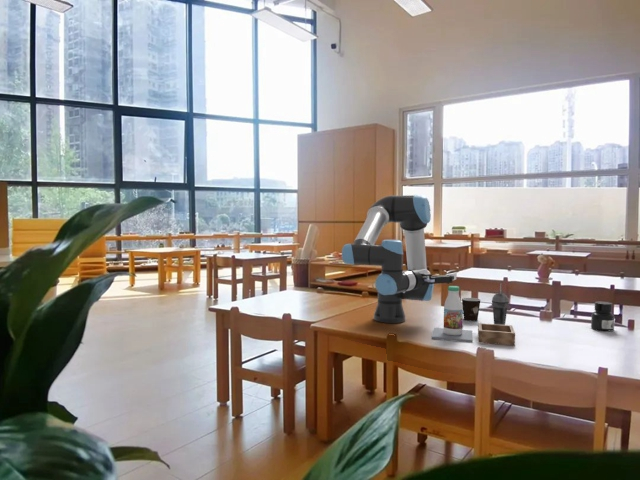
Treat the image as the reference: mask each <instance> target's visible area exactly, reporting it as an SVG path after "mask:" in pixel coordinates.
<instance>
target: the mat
mask: <svg viewBox="0 0 640 480" xmlns="http://www.w3.org/2000/svg"><path fill="white" fill-rule="evenodd" d="M473 336H474V335H473V330H472V329H471V330H470V329H463V331H462V334H461V335H447V334H445V333H444V327H434V328H433V331H432V334H431V340H438V341H451V342H463V343H473V341H474V340H473V338H474V337H473Z"/></svg>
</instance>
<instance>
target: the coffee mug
mask: <svg viewBox="0 0 640 480" xmlns="http://www.w3.org/2000/svg"><path fill="white" fill-rule="evenodd" d="M461 302H462V306H463V321H467V322H477V321H478V319H479V311H480V306H481V299H480V298H476V297H463V298H461Z"/></svg>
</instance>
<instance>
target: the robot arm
mask: <svg viewBox="0 0 640 480" xmlns="http://www.w3.org/2000/svg"><path fill="white" fill-rule="evenodd" d="M430 221H431V205H430V201H429V199H428V198H427V196H425V195H418V194H413V195H412V194H411V195H410V194H409V195H408V194H407V195H387V196H385V197H382V198H380V199H378V200H377V201H375V202H374V203H373V204H372V205H371V206H370V207H369V208H368V210H367V214H366V219H365V221H364V223H363V225H362V226H361V228H360V229H359V232H358V233H357V235H356V237H355V239H354V241H353V243H346V244H344V245H343V246H342V248H341V259H342V262H343V263H344V264H345V265H352V266H355V265H356V266H357V265H358V266H375V267H376V266H378V267H381V273H380V274H378V276H377V277H376V279H375V282H374V283H375V285H374V286H375V288H376V291H377V305H376V308H375V310H374V313H373V320H374V321H376V322H379V323H384V324H398V323H399V324H401V323H403V322H406V313H405V310H404V306H403V300H408V301H419V302H420V301H421V302H428V301H431V300H432V297H433V292H434V287H435V286H434V285H435V284H447V285H450V284H453V281H455V280H457V276H458V275H457V272H452V273H447V274H443V275H441V274H433V275H432V274H431V271H429V270H428V267H427V252H426V240H425V237H426V236H425V228H426V227H427V226H428V224H429V223H430ZM388 223H396V224H397V223H399V227H400V228H401V230H403V232H404V233H403V234H404V243H405V244H403V241H401V240H400V239H383V240H382V241H381V244H376V243H377V240H378V238H379V236H380V234H381V232H382V231H383V228H384V227H385V226H386V225H388ZM403 245H405V253H406V264H407V269H406V270H403V267H404V247H403Z"/></svg>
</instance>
